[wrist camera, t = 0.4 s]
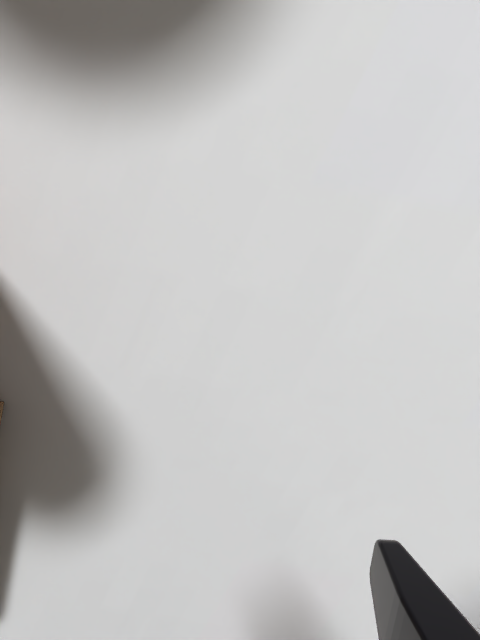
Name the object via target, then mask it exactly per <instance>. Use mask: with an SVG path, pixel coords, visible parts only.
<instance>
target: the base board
mask: <svg viewBox="0 0 480 640" xmlns="http://www.w3.org/2000/svg"><path fill="white" fill-rule="evenodd" d="M3 406H4V402H1V401H0V424H1V418H2V412H3Z"/></svg>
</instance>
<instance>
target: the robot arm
mask: <svg viewBox="0 0 480 640" xmlns="http://www.w3.org/2000/svg"><path fill="white" fill-rule="evenodd" d="M370 584H371V591H372V597H373V604H374V610H375V617H376V623H377V630H378V636H379V640H480V634H479V633H478V632H477V631H476V630H475V629H474V627H473V626H472V625H471V624H470V623H469V622H468V621H467V619H466V618H465V617H464V616H463V615H462V614H461V612H460V611H459V610H458V609H457V608H456V607H455V606H454V604H453V603H452V602H451V601H450V600H449V599H448V598H447V596H446V595H445V594H444V593H443V592H442V591H441V590H440V588H439V587H438V586H437V585H436V584H435V583H434V582H433V580H432V579H431V578H430V577H429V576H428V575H427V573H426V572H425V571H424V570H423V569H422V568H421V567H420V565H419V564H418V563H417V562H416V561H415V560H414V559H413V557H412V556H411V555H410V554H409V553H408V552H407V551H406V549H405V548H404V547H403V546H402V545H401V544H400V543H399V542H398V541H395V540H377V541H376V543H375V545H374V550H373V556H372V561H371V566H370Z"/></svg>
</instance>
